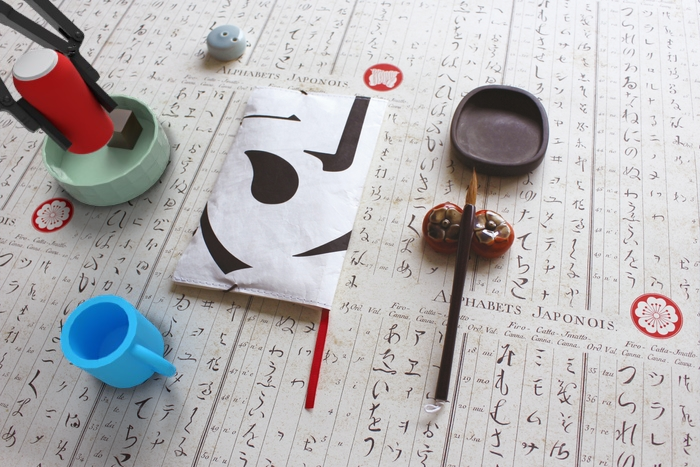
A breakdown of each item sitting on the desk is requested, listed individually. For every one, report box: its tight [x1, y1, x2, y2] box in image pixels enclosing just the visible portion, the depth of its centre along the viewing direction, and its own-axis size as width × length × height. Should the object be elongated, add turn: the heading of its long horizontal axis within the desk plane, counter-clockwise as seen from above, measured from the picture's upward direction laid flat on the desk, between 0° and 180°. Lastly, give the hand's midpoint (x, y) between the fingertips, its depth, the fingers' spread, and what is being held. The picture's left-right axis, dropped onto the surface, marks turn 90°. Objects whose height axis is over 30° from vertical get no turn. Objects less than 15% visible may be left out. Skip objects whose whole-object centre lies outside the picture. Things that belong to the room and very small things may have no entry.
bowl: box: [41, 93, 171, 207], centre depth 78 cm, size 16×16×5 cm
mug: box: [59, 294, 177, 389], centre depth 62 cm, size 12×8×8 cm
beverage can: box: [11, 47, 114, 155], centre depth 62 cm, size 6×6×12 cm
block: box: [105, 108, 143, 150], centre depth 80 cm, size 4×4×4 cm
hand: (91, 127), depth 62 cm, fingers closed on beverage can, 6 cm apart
